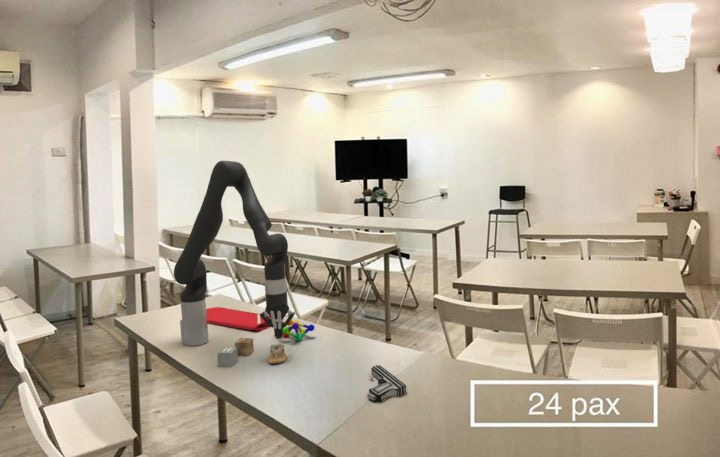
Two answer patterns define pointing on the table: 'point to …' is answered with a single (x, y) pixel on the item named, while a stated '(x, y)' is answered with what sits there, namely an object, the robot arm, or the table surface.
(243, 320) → the dish drying mat
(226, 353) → the slate block
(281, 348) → the sandal
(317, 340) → the table surface
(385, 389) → the handgun
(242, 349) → the walnut block
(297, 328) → the decorative model
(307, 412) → the table surface
